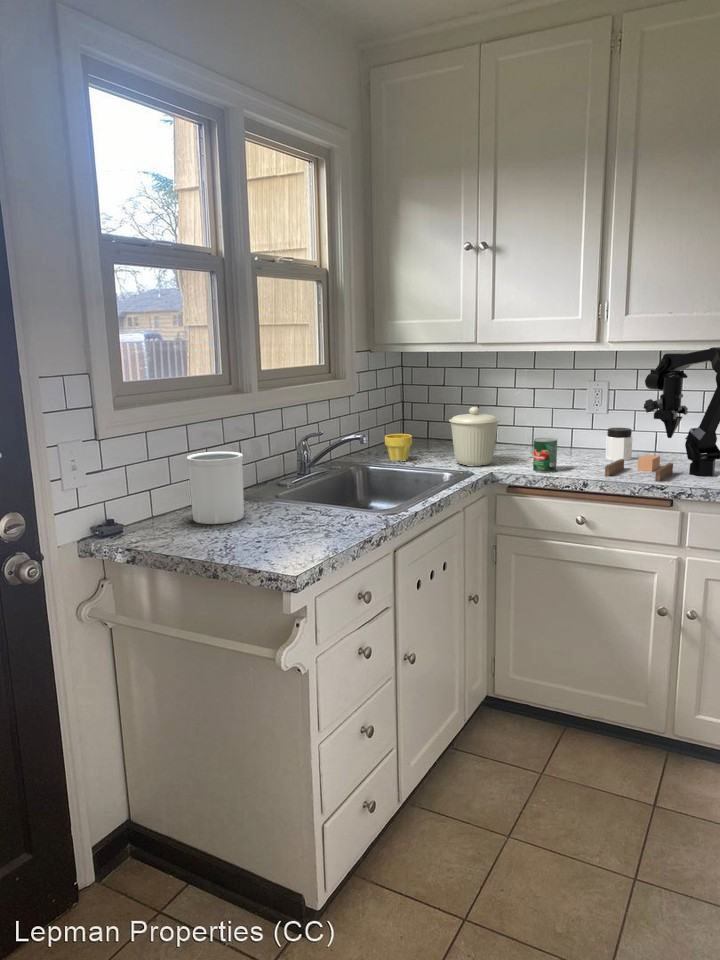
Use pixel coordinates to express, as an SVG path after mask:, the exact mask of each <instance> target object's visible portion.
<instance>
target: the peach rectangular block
mask: <svg viewBox="0 0 720 960" xmlns="http://www.w3.org/2000/svg"><path fill="white" fill-rule="evenodd" d="M637 460H638V461H637V471H639V472H647V473H648V472H649V473H651V472H654V471H656V470H658V469H660V468H661V467H660V463H661V455H651V454H650V455H649V454H645V455H643V456H640V457H639V458H637Z"/></svg>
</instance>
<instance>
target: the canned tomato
mask: <svg viewBox="0 0 720 960" xmlns="http://www.w3.org/2000/svg"><path fill="white" fill-rule="evenodd" d="M557 457H558V439H557V438H554V437H537V438H533V459H532V461H533V463H532V465H533V466H532V467H533V468H532V471H533V472H534V471H535V473H539V474H540V473H541V474H546V473H547V474H551V472H552V473H555V471H556V472H557V461H558V460H557V459H558V458H557Z"/></svg>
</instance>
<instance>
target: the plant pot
mask: <svg viewBox="0 0 720 960" xmlns="http://www.w3.org/2000/svg"><path fill="white" fill-rule="evenodd" d="M384 445H385V446H386V447H387V448H386V449H387V452H388V457H389V460H390V459H391V460H407V459H409V455H410V454H409V453H410V449H411V446H412V445H413V435H411V434H408V433H393V434H392V433H391V434H387V435H385V436H384ZM407 461H408V460H407Z"/></svg>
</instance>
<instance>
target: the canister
mask: <svg viewBox="0 0 720 960" xmlns="http://www.w3.org/2000/svg"><path fill="white" fill-rule="evenodd" d="M468 412H469V413H467V414H465V413H464V414H458V415H454V416H453V417H452V418H450V419H448V421H449V423H450V427H451V435H452V443H453V452H454V457H455V460H456V463H457V464H458V463H459V464H458V465H460V464H463V465H462V466H464V465H473V466H472V467H482V466H481V465H485V466H489V465H490V464H491V463H492V461H493V460H494V455H495V449H496V441H497V432H498V424H499V422H500V419H499V418H497V417H496V416H495V415H493V414H486V413H480V408H479V407H476V406H473V407H470V408H469V410H468Z"/></svg>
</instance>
